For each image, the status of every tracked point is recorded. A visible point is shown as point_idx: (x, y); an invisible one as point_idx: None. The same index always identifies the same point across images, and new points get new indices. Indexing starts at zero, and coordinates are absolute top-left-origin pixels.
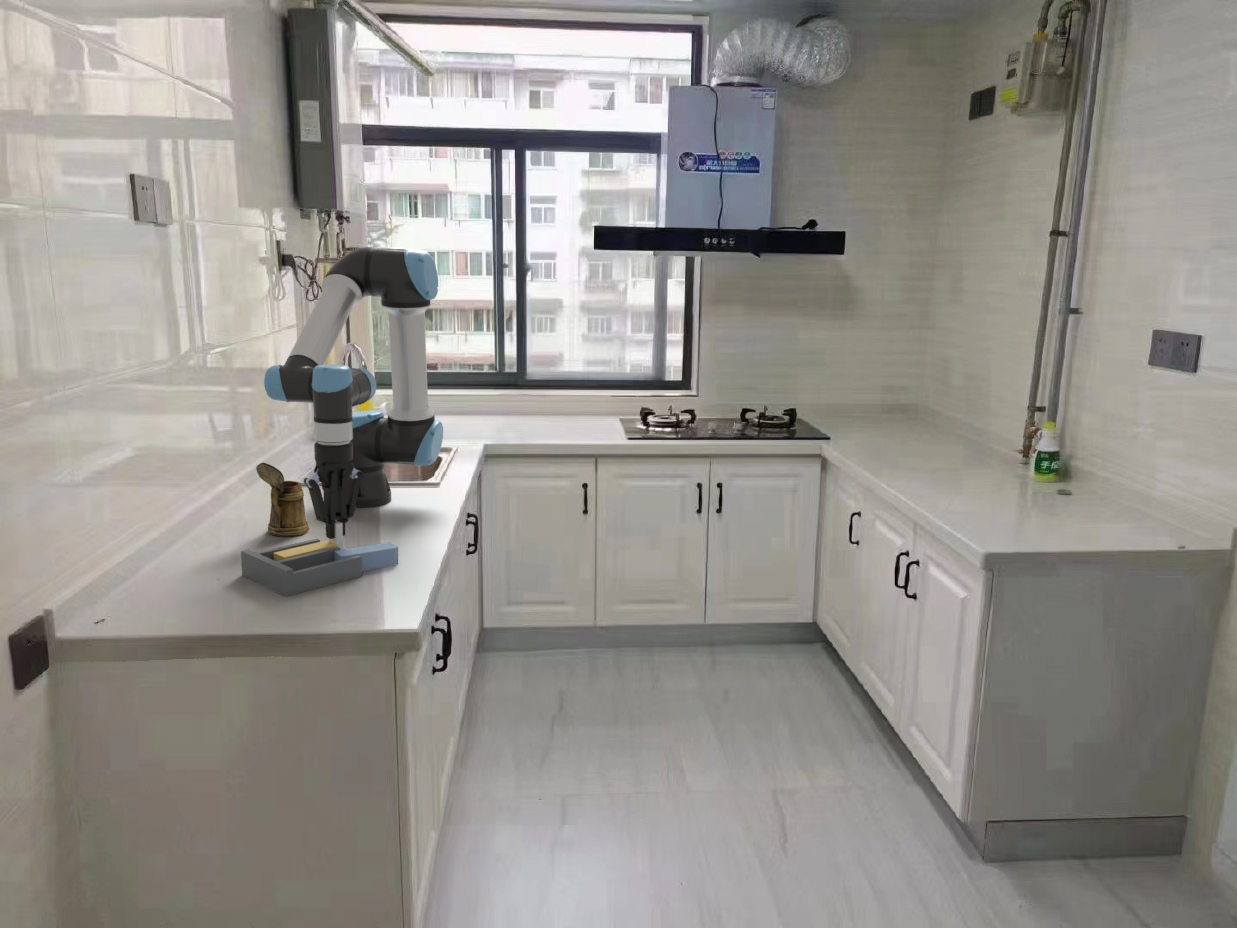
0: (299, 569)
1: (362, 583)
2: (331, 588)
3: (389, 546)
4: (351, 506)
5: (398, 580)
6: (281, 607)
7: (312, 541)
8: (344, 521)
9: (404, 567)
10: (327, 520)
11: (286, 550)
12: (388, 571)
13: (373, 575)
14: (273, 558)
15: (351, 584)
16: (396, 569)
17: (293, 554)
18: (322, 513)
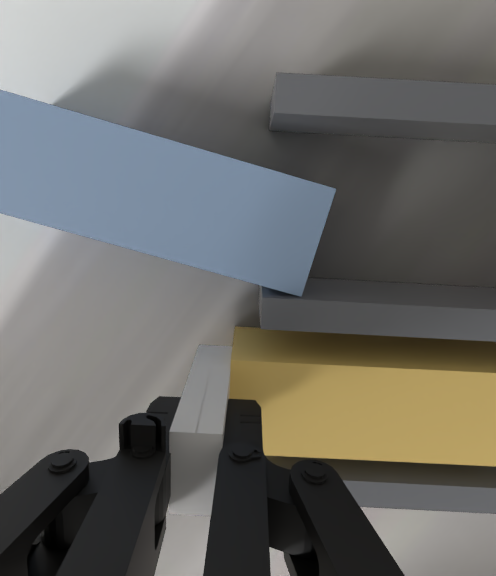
0: (484, 294)
1: (340, 3)
2: (479, 58)
3: (22, 139)
4: (22, 520)
5: None
6: None
7: None
8: (161, 421)
9: (48, 44)
10: (295, 470)
11: (465, 454)
12: (142, 55)
13: (230, 62)
14: None
15: (383, 33)
16: (95, 50)
17: (486, 383)
18: (357, 527)
